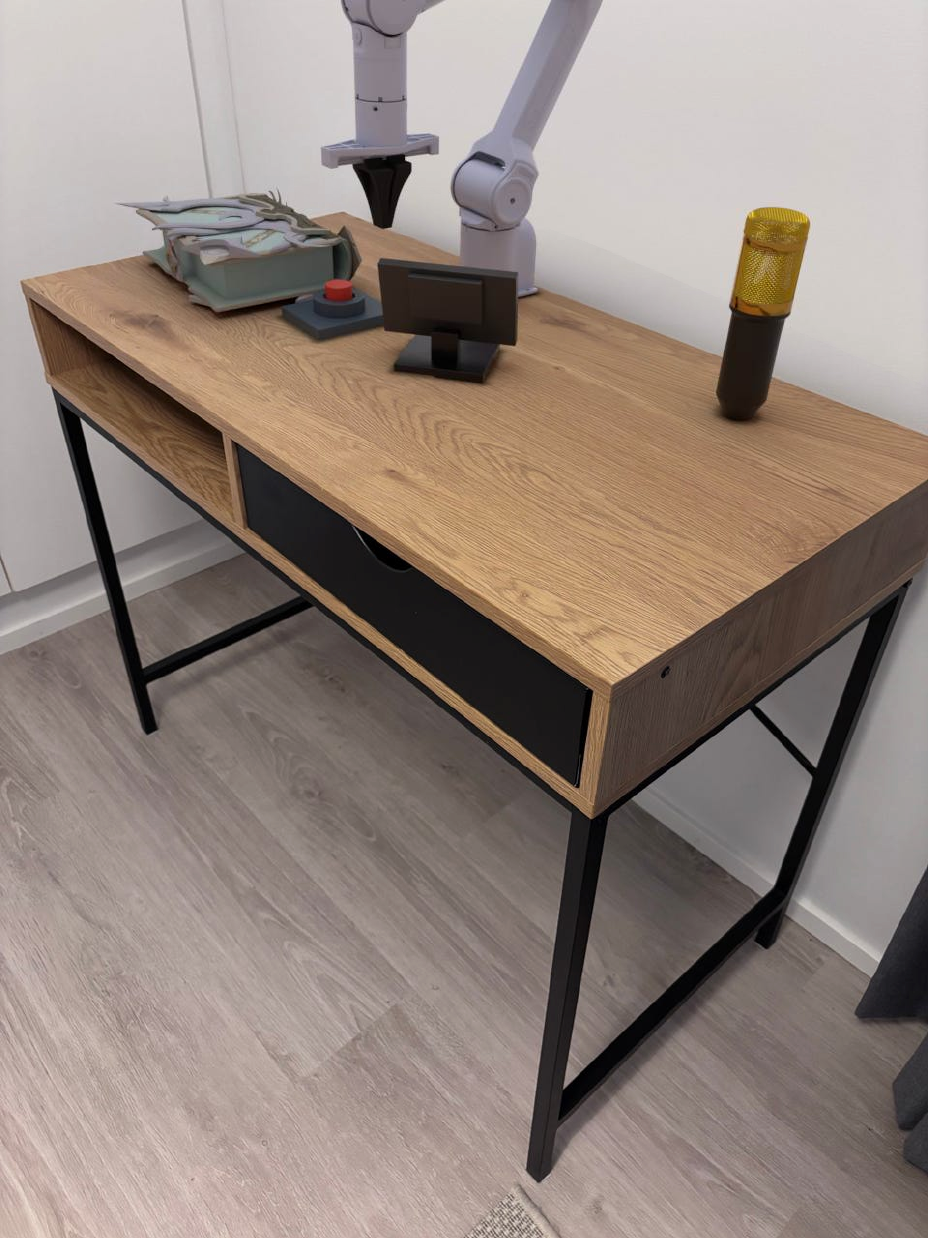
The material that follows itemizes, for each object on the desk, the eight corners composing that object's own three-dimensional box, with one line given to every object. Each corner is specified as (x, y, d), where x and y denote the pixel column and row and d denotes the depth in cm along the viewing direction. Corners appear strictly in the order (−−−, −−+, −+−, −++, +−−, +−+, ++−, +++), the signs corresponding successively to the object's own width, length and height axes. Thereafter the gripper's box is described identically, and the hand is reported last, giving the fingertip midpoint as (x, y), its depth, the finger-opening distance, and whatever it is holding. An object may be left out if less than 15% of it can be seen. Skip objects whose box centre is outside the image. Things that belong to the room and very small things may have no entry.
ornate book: (372, 302, 129) (268, 232, 147) (371, 226, 123) (263, 163, 141) (207, 337, 118) (118, 257, 137) (197, 255, 112) (106, 183, 131)
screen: (387, 324, 113) (380, 256, 106) (517, 339, 110) (518, 271, 104) (382, 335, 112) (374, 267, 105) (513, 350, 109) (514, 282, 103)
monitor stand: (415, 341, 116) (415, 307, 114) (499, 351, 115) (501, 317, 112) (393, 372, 109) (393, 336, 107) (482, 383, 108) (484, 347, 105)
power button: (343, 291, 121) (342, 277, 120) (357, 299, 119) (357, 285, 118) (320, 296, 120) (319, 282, 119) (334, 304, 118) (333, 290, 117)
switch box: (359, 300, 127) (358, 276, 125) (398, 322, 121) (398, 297, 119) (281, 317, 121) (279, 292, 120) (319, 341, 116) (317, 316, 114)
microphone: (688, 372, 111) (721, 183, 99) (778, 418, 103) (826, 217, 91) (649, 384, 109) (678, 190, 97) (738, 431, 100) (782, 226, 88)
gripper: (414, 86, 115) (414, 209, 123) (304, 96, 108) (311, 226, 116) (450, 96, 111) (448, 223, 119) (337, 108, 103) (343, 242, 112)
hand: (382, 226), depth 117 cm, fingers closed
